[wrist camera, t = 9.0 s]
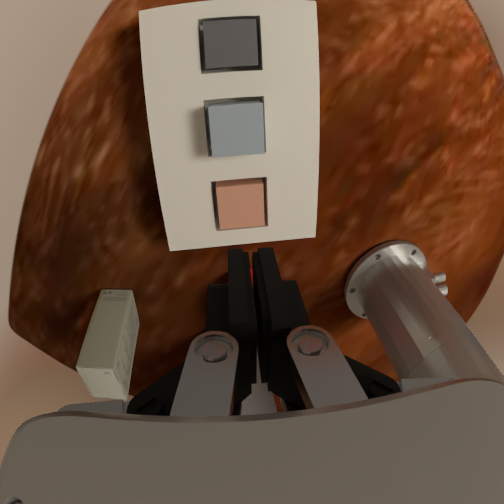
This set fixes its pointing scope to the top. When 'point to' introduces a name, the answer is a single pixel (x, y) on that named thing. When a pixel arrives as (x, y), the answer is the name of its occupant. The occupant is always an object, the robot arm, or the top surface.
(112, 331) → the skincare box
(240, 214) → the terracotta button
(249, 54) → the charcoal button
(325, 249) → the top surface
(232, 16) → the button panel
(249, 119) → the slate button
